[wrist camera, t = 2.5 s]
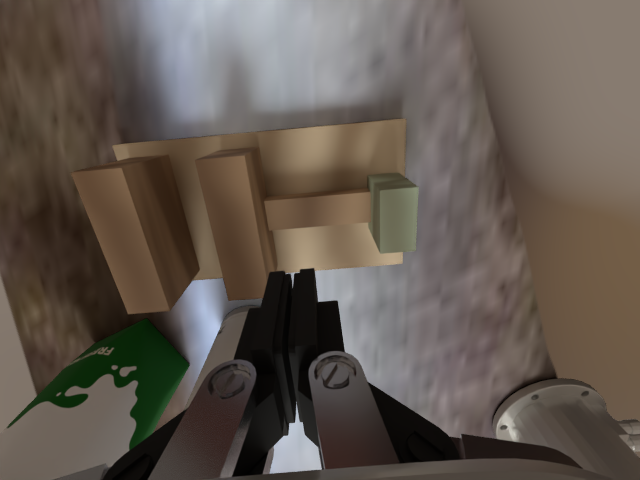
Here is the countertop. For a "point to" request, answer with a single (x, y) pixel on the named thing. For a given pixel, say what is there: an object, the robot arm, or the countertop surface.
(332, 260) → the base
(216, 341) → the travel mug
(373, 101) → the countertop surface
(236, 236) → the sliding jaw
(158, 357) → the milk carton
